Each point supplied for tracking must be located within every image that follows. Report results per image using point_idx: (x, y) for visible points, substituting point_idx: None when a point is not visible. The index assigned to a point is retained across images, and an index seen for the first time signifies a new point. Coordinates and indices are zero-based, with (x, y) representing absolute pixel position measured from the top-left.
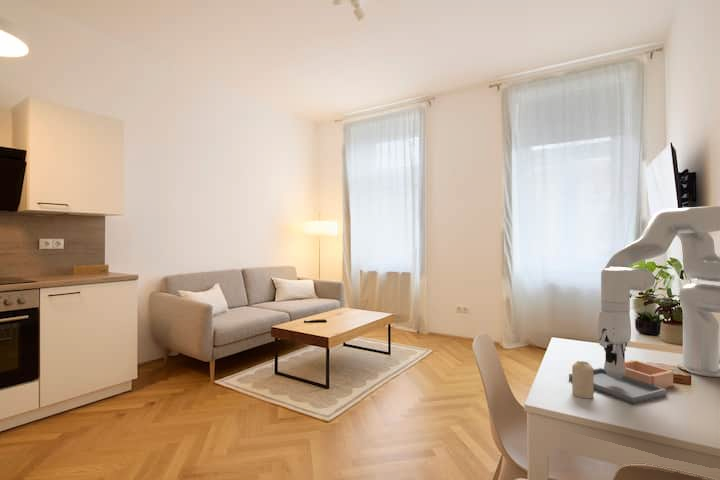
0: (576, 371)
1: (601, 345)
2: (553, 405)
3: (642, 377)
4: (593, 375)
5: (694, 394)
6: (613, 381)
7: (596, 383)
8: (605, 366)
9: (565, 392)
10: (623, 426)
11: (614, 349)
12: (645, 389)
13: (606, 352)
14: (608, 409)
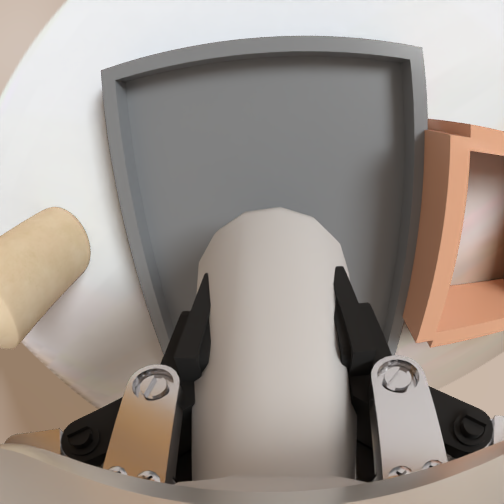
0: None
1: (29, 440)
2: None
3: (417, 302)
4: (33, 326)
5: (468, 350)
6: (321, 191)
7: (135, 232)
8: (204, 260)
9: (22, 205)
10: (70, 384)
11: (185, 464)
12: None
13: (181, 354)
14: (80, 339)
